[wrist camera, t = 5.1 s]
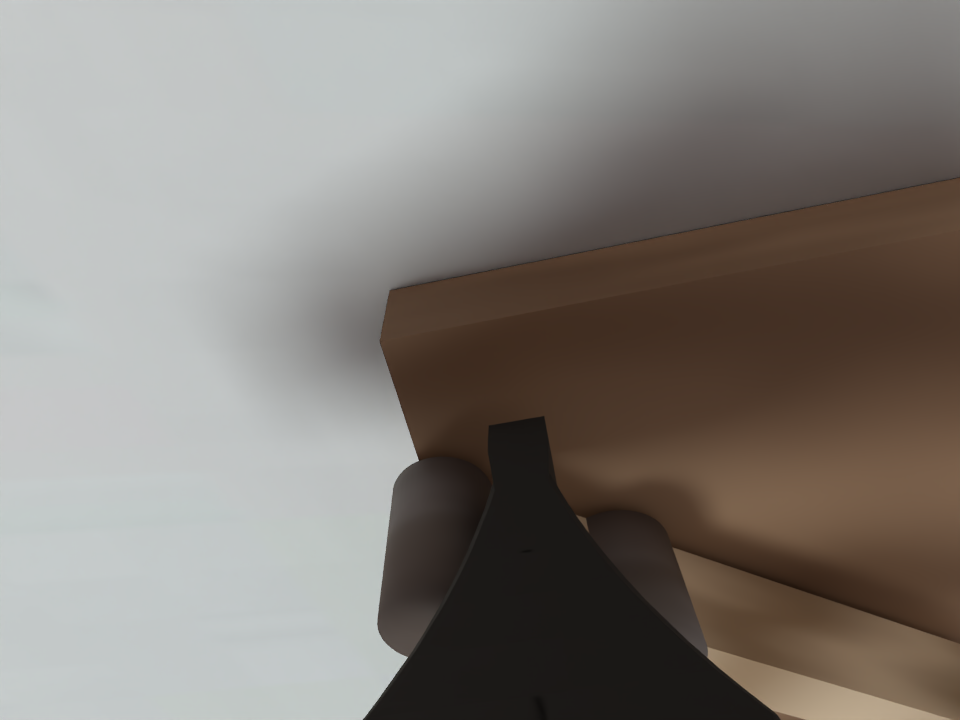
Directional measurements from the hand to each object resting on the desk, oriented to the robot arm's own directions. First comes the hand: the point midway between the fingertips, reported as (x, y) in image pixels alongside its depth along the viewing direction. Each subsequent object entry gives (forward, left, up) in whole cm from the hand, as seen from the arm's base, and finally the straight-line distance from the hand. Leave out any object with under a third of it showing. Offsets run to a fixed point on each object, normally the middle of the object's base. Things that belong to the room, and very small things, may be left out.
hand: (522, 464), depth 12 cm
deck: (-7, -4, -3) cm, 8 cm away
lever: (-5, -3, -1) cm, 6 cm away
